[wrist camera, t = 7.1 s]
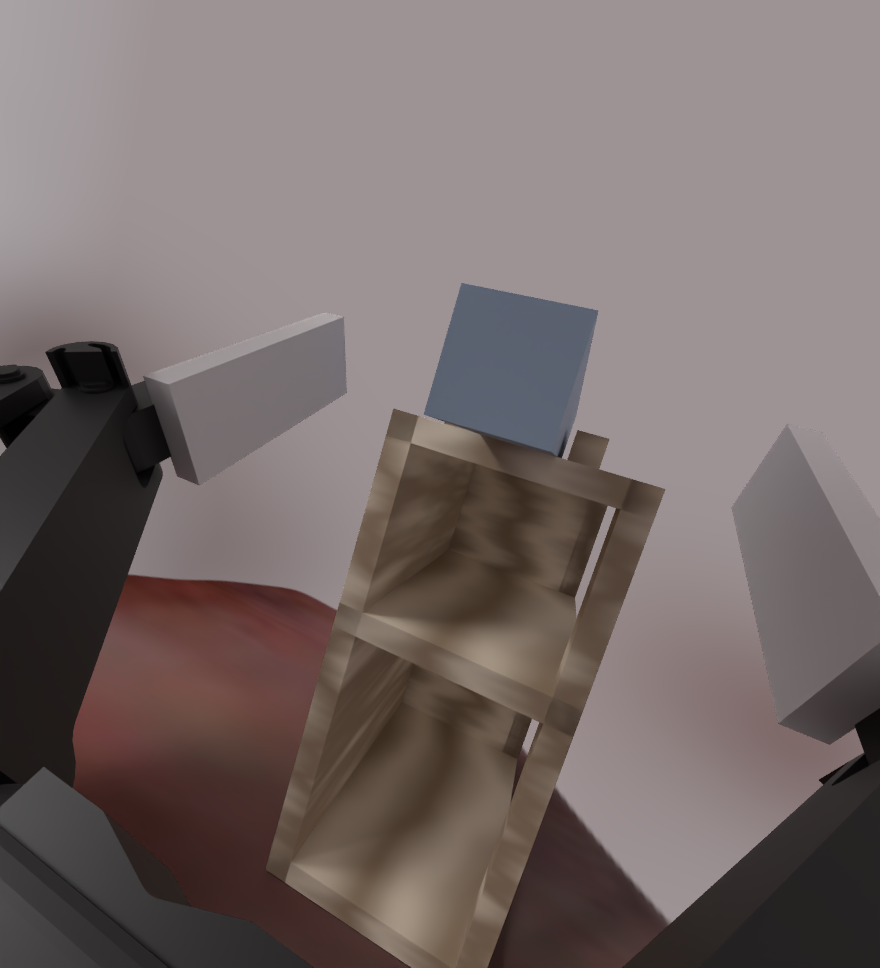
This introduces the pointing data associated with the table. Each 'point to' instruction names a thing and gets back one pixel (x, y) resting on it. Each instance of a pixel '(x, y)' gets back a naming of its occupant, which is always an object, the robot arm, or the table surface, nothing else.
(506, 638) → the shelf stand
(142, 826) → the table surface
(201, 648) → the table surface
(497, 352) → the block
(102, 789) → the table surface
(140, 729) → the table surface
